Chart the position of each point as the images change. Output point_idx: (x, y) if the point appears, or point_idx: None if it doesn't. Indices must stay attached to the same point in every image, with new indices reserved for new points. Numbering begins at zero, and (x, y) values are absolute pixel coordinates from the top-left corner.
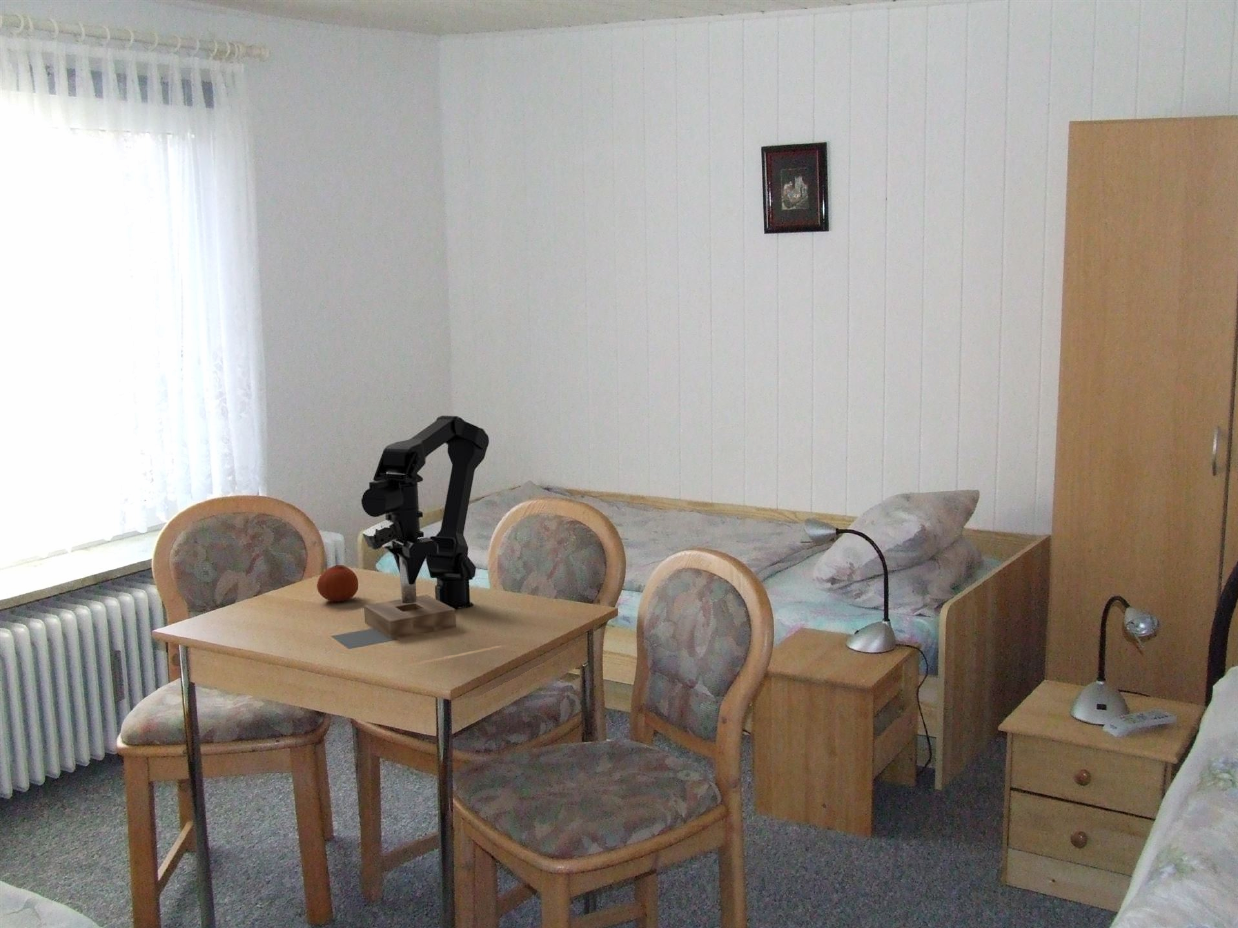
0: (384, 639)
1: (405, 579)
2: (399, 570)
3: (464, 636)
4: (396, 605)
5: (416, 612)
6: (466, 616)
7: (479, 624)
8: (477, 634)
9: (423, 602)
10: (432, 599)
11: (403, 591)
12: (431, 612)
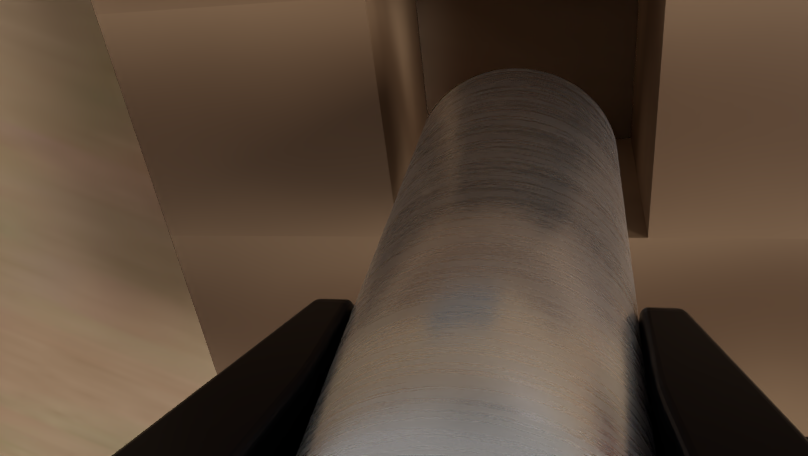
0: None
1: (352, 316)
2: (751, 451)
3: (88, 267)
4: (715, 21)
5: (268, 115)
6: None
7: None
8: (108, 337)
9: None
10: None
11: (445, 155)
12: (205, 231)
